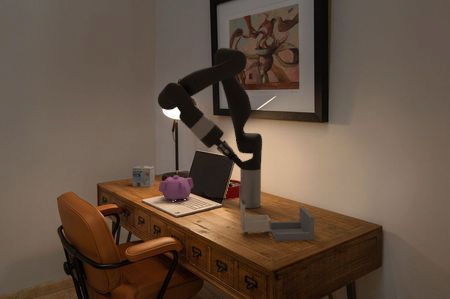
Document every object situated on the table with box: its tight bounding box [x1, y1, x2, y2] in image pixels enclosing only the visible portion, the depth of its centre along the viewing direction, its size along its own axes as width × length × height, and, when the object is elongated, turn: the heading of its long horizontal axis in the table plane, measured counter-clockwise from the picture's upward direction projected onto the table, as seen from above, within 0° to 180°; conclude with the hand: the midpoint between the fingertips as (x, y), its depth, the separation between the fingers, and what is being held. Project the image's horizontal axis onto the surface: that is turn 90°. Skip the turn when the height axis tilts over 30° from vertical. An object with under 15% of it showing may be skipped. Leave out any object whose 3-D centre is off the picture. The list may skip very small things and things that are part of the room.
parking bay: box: [269, 206, 315, 242], centre depth 145 cm, size 13×14×8 cm
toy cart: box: [240, 197, 272, 237], centre depth 143 cm, size 7×10×13 cm
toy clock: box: [225, 179, 240, 200], centre depth 204 cm, size 20×6×20 cm
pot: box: [158, 175, 194, 201], centre depth 193 cm, size 18×17×12 cm
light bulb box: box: [131, 165, 156, 188], centre depth 223 cm, size 11×7×11 cm, turn 81°
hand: (242, 166), depth 137 cm, fingers closed
